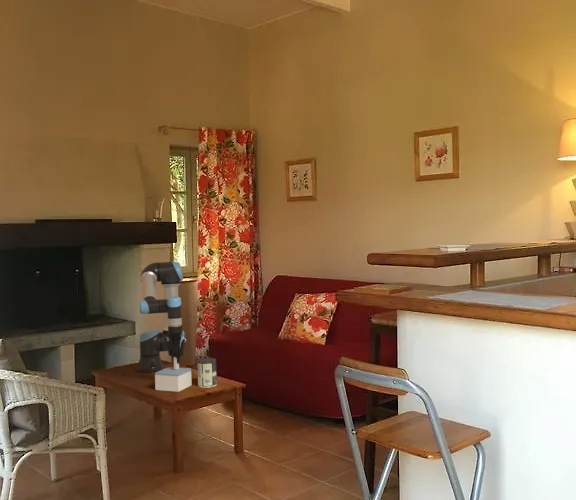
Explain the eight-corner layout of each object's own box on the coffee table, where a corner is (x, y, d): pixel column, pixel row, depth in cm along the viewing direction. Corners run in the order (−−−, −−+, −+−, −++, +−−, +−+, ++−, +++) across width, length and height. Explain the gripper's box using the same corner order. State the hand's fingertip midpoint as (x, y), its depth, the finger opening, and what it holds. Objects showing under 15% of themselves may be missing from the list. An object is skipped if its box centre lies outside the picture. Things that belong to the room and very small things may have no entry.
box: (169, 383, 358) (168, 369, 358) (191, 385, 353) (191, 370, 353) (155, 389, 345) (154, 374, 345) (178, 391, 340) (177, 376, 340)
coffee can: (211, 382, 359) (210, 356, 358) (220, 385, 351) (219, 359, 350) (194, 385, 353) (193, 359, 352) (203, 388, 345) (202, 362, 344)
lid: (169, 368, 358) (169, 366, 358) (191, 370, 353) (191, 368, 353) (155, 374, 345) (155, 372, 345) (178, 376, 340) (178, 374, 340)
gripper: (160, 326, 349) (162, 369, 350) (181, 327, 345) (183, 371, 346) (168, 324, 356) (169, 366, 357) (189, 324, 352) (190, 368, 353)
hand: (176, 368), depth 351 cm, fingers closed
